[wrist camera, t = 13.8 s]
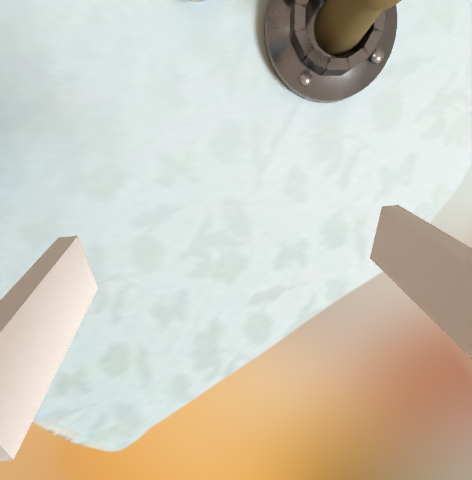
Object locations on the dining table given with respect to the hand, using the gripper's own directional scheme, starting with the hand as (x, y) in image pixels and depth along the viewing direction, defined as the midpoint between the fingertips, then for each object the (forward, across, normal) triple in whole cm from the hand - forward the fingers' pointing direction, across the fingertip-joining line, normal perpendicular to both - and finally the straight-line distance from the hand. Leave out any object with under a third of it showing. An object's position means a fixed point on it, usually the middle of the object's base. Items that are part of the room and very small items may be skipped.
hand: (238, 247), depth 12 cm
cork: (+29, +16, +12) cm, 35 cm away
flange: (+30, +16, +11) cm, 36 cm away
